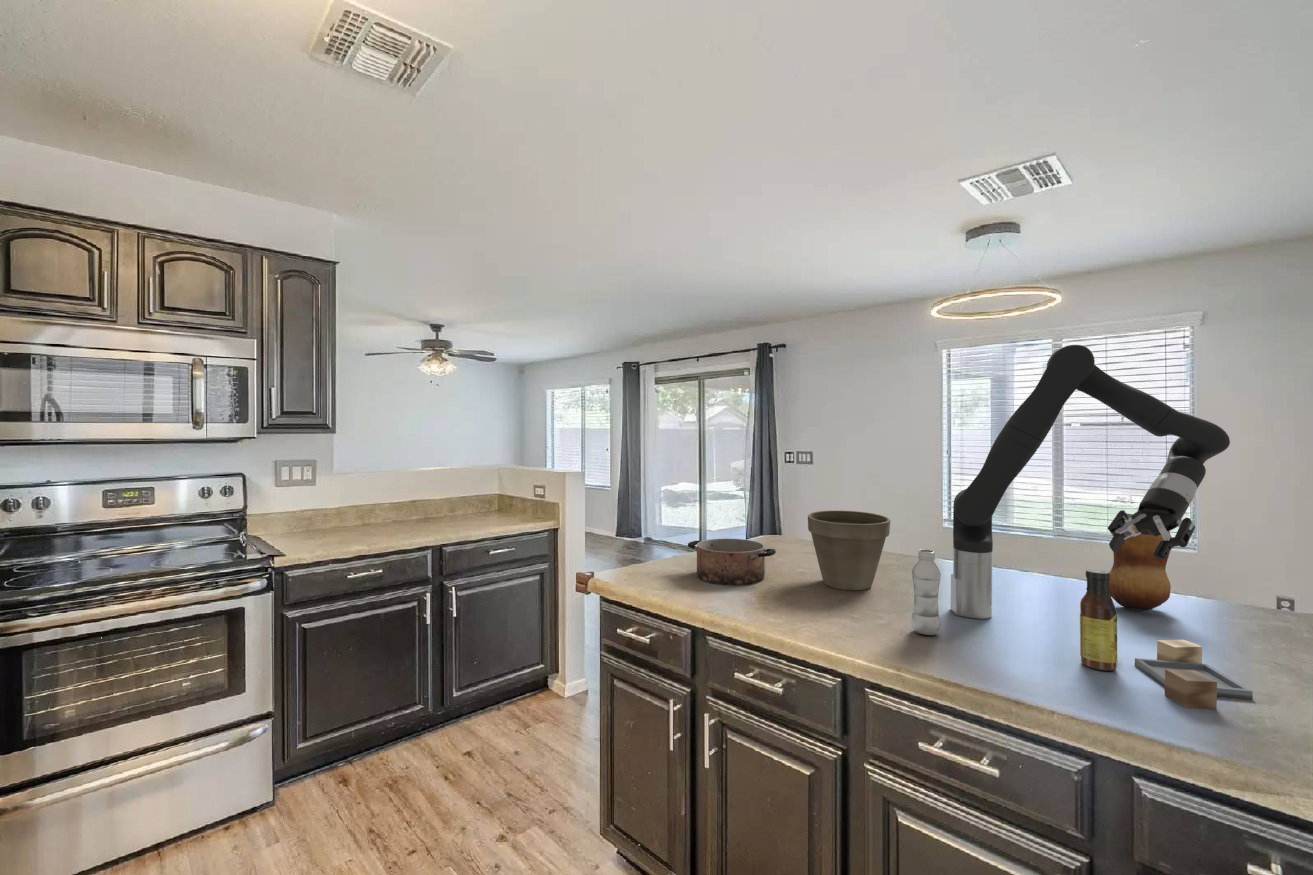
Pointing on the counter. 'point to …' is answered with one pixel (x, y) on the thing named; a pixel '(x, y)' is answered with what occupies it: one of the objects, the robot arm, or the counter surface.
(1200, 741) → the counter surface
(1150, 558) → the butternut squash
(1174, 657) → the oak block
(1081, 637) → the sauce bottle
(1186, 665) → the tray
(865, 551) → the plant pot
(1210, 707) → the walnut block
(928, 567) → the plastic bottle
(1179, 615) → the counter surface
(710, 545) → the cooking pot
